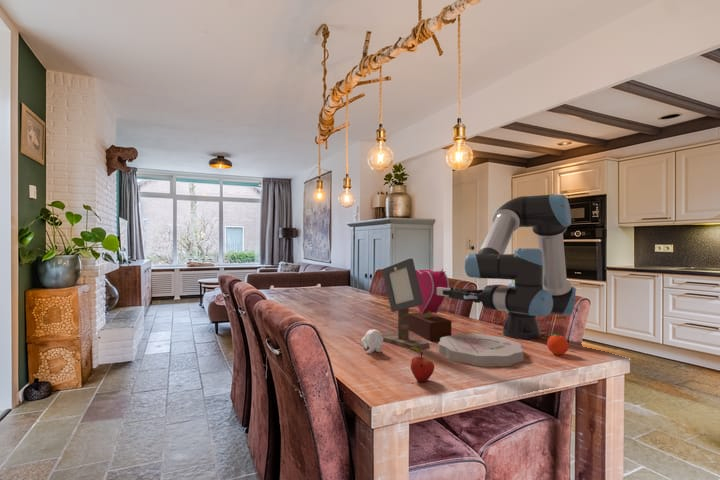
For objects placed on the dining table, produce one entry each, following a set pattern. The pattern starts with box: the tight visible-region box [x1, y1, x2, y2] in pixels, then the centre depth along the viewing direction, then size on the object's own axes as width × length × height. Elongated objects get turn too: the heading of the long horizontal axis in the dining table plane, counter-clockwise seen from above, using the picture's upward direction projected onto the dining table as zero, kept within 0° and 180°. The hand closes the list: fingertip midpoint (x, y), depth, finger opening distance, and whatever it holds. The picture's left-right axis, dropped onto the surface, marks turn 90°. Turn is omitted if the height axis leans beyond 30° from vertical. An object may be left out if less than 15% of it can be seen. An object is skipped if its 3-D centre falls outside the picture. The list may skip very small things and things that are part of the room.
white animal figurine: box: [360, 329, 384, 355], centre depth 142 cm, size 6×8×12 cm
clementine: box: [546, 334, 569, 356], centre depth 138 cm, size 8×7×7 cm
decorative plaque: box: [437, 333, 524, 367], centre depth 139 cm, size 30×4×30 cm
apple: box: [408, 347, 435, 383], centre depth 111 cm, size 8×7×10 cm
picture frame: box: [382, 258, 424, 313], centre depth 150 cm, size 16×3×18 cm, turn 40°
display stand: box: [381, 308, 430, 351], centre depth 153 cm, size 22×8×32 cm, turn 40°
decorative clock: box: [409, 268, 453, 342], centre depth 166 cm, size 25×10×30 cm, turn 17°
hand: (438, 291), depth 136 cm, fingers closed
